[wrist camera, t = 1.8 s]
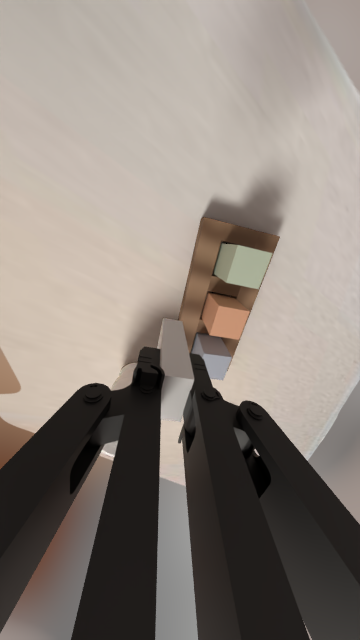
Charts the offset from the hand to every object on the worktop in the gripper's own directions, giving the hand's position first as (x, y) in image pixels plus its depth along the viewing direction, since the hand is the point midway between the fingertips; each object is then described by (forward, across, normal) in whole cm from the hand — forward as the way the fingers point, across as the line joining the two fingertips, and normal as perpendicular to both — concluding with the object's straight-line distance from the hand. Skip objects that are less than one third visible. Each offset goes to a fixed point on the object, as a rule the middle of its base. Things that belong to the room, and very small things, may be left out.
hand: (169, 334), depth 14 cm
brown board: (+22, +10, -2) cm, 24 cm away
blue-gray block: (+20, +10, -11) cm, 25 cm away
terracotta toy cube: (+20, +10, -3) cm, 22 cm away
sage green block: (+20, +10, +6) cm, 23 cm away
